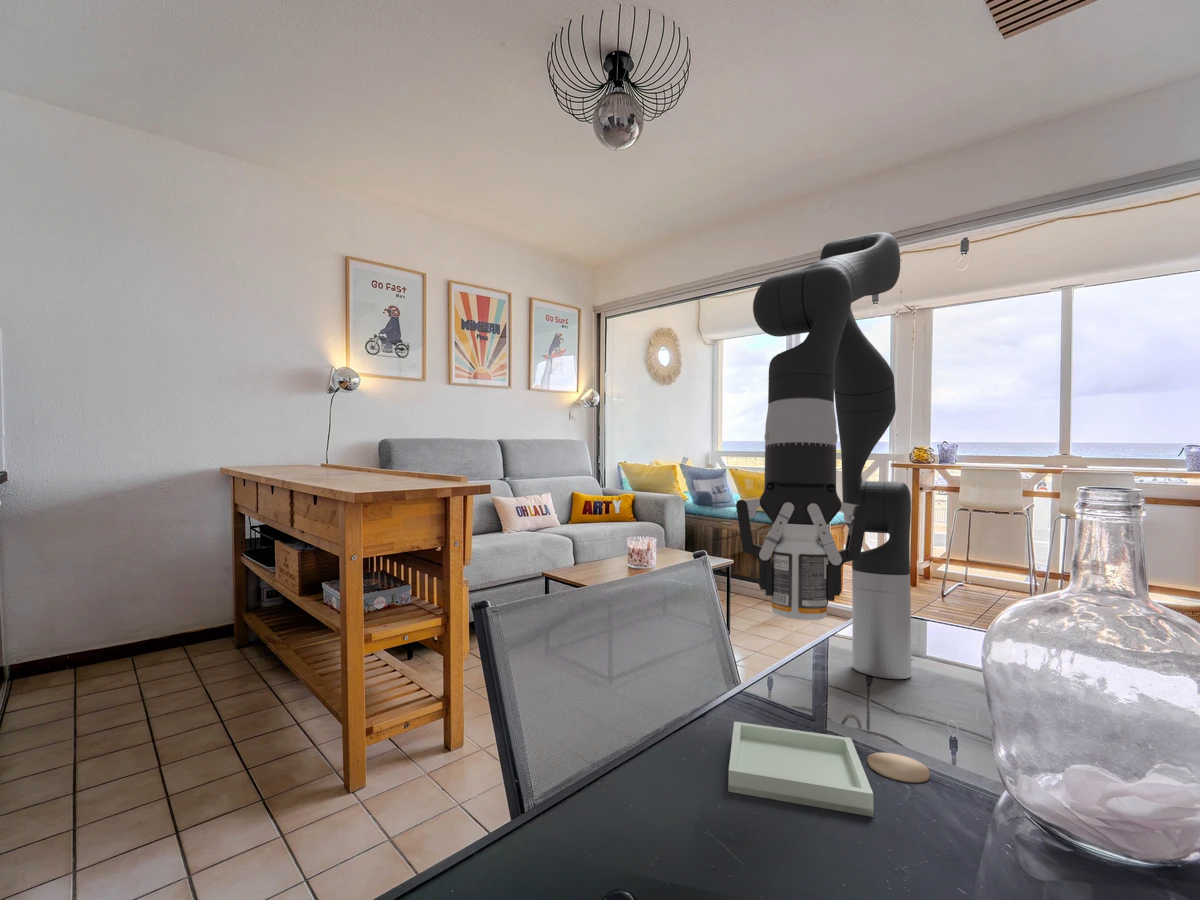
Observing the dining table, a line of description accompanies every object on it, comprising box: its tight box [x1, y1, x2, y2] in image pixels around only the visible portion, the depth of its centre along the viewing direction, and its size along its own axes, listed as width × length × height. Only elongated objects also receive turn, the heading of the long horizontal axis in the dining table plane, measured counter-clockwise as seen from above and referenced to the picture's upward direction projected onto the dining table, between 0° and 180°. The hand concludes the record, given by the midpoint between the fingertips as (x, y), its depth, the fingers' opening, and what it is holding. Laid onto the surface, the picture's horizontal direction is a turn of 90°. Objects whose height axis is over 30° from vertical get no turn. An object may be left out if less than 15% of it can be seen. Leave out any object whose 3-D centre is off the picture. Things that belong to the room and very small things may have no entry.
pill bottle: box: [771, 524, 828, 621], centre depth 61 cm, size 6×6×10 cm
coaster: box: [867, 752, 931, 784], centre depth 61 cm, size 6×6×1 cm
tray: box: [727, 721, 875, 818], centre depth 59 cm, size 13×13×2 cm
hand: (798, 596), depth 61 cm, fingers closed on pill bottle, 5 cm apart
